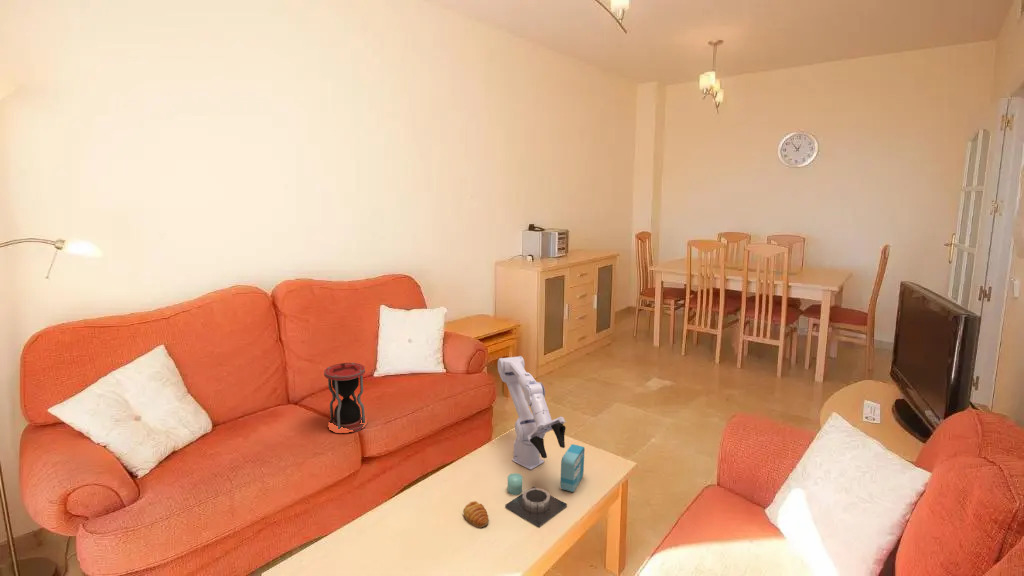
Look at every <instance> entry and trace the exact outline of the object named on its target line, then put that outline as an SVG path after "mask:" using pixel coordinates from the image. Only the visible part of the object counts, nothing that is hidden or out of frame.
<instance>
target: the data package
mask: <svg viewBox="0 0 1024 576" xmlns="http://www.w3.org/2000/svg"><path fill="white" fill-rule="evenodd" d="M568 447H569V448H568V449H567V450H566V452H564V454H563V456H562V457H561V462H560V483H559V484H560V486H559V487H560V489H561V490H564V491H568V492H571V493H574V492H575V490H576V489H577V487H578V486H579V484H580V483H581V480H582V478H583V476H584V471H585V470H584V469H585V468H584V467H585V449H586V448H585V446H581V445H578V444H570V446H568Z"/></svg>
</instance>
